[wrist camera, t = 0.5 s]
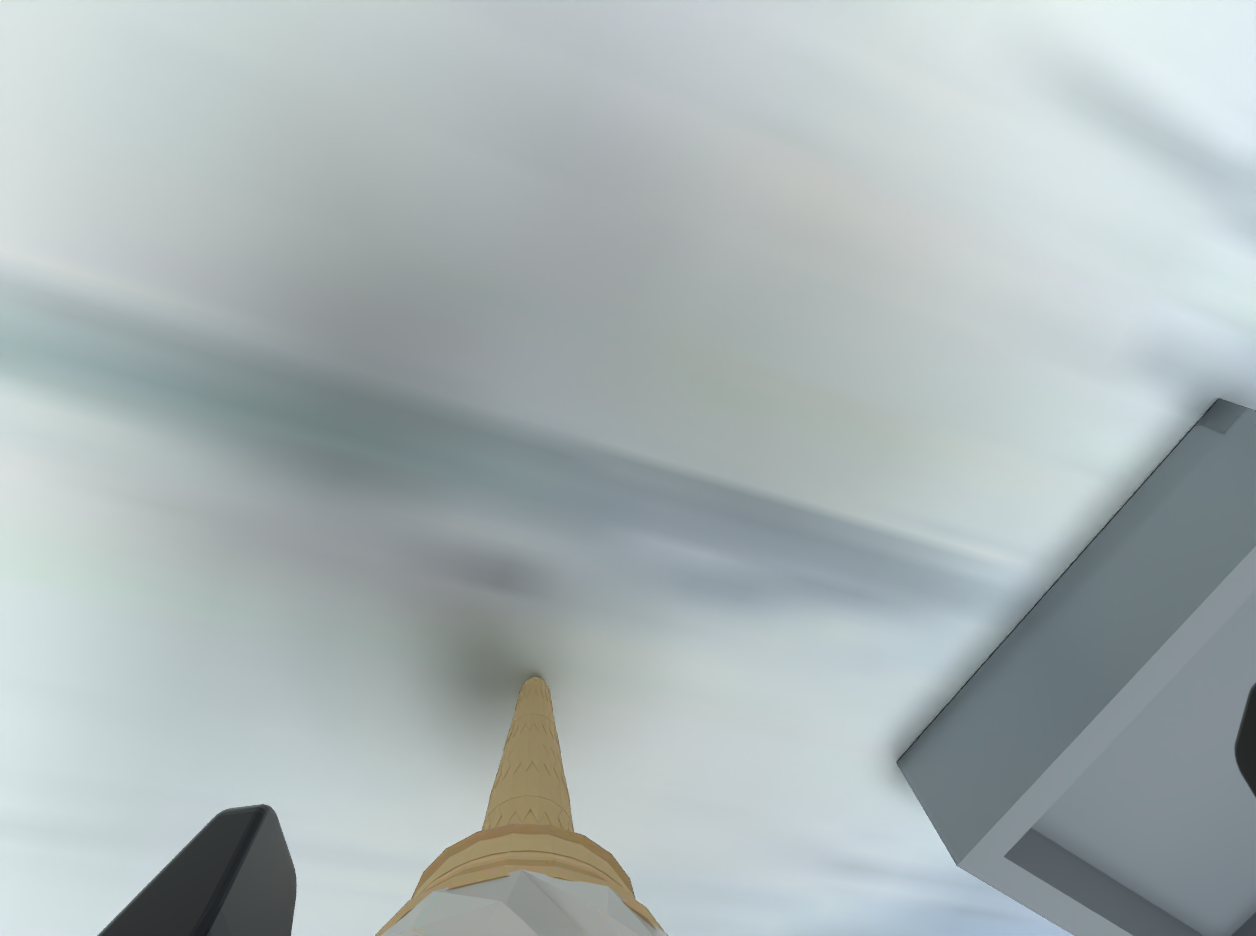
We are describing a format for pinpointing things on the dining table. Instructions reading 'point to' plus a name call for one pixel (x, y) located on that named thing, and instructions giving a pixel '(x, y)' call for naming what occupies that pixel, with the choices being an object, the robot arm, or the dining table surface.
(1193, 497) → the bin
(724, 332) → the dining table surface
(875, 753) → the dining table surface
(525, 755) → the ice cream cone
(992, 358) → the dining table surface
